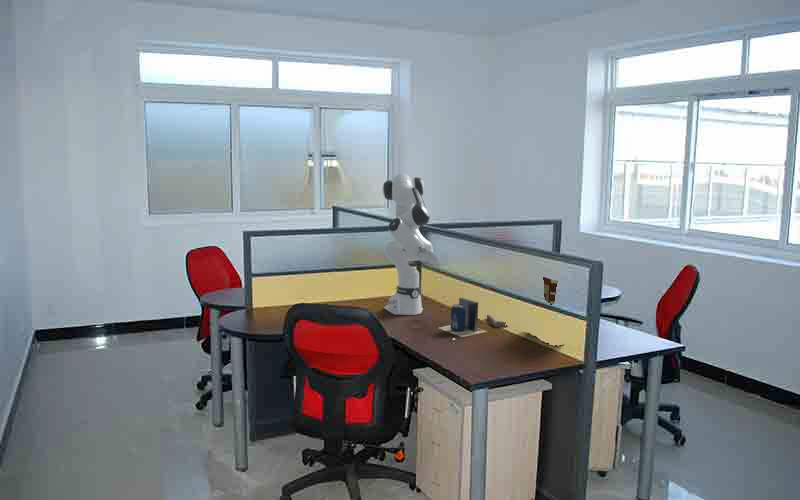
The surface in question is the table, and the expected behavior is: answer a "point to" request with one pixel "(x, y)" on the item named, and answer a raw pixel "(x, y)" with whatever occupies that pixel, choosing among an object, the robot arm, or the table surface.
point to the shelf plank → (461, 334)
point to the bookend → (470, 314)
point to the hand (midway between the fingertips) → (431, 265)
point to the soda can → (458, 318)
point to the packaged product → (495, 321)
